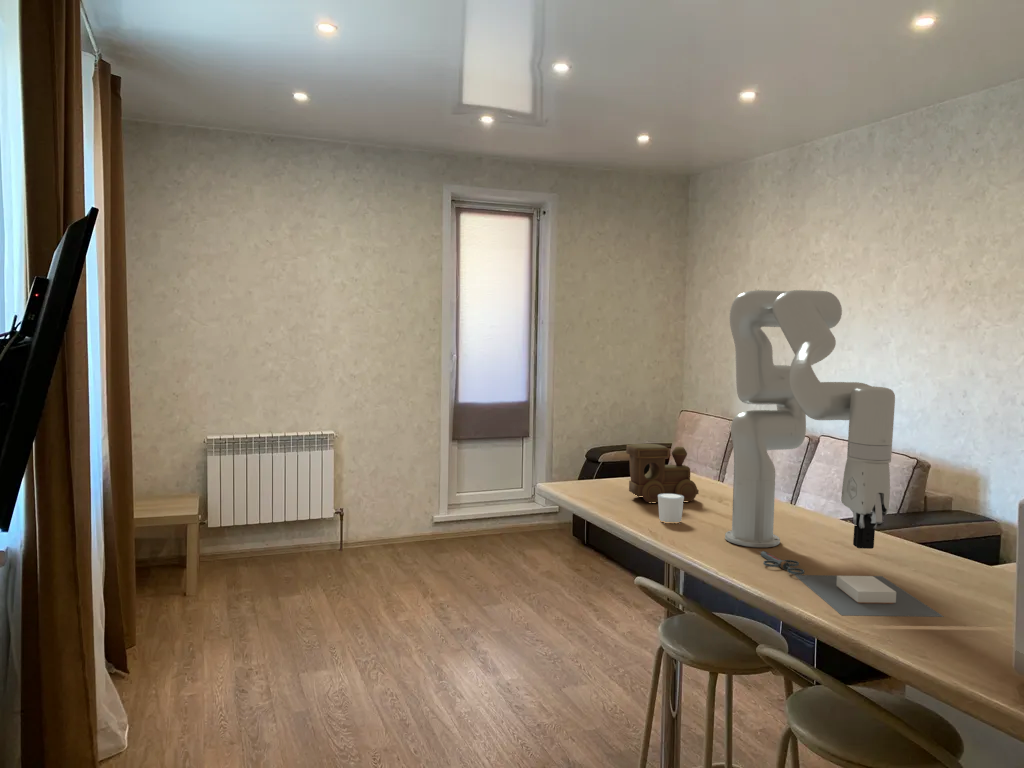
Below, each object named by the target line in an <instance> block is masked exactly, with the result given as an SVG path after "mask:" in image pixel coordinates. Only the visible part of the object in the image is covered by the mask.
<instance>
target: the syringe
mask: <svg viewBox="0 0 1024 768" xmlns="http://www.w3.org/2000/svg"><path fill="white" fill-rule="evenodd" d="M757 552H759V553H760V557H762V558H764V559H766V560H763V563H762V564H763V565H764V566H766V567H771V568H777V567H780V568H781V569H783V570H786V572H787V573H788V574H792V575H805V570H804V569H803V568H799V567H798V566H800V562H799V561H797V560H793V559H784V560H782V559H780V558H778V557H776V556H775V555H772V554H771V553H769V552H767V551H764V550H762V551H759V550H757Z"/></svg>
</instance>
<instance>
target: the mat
mask: <svg viewBox="0 0 1024 768" xmlns="http://www.w3.org/2000/svg"><path fill="white" fill-rule="evenodd" d="M794 576H795V577H796V578H797V579H798V580H799V581H801V583H803V584H804V585H805V586H807V588H809V589H810V590H811V591H812V592H813V593H815V594H816V595H817V596H818V597H819V598H820V599H822V600H823V601H824V603H825V602H826V603H827V605H829V606H830V607H831V608H832V609H834V611H835V612H837V613H838V614H839V615H840V616H841V617H842V616H845V617H846V616H848V617H849V616H850V617H851V616H855V617H859V616H860V617H862V616H863V617H866V616H867V617H917V618H918V617H920V618H921V617H929V618H931V617H933V618H944V615H942V614H941V613H939V612H938V611H936V610H935V609H933V608H931V607H930V606H928V605H927V604H925V603H924V602H922V601H920V600H919V599H918V598H916V597H914V596H913V595H911V594H910V593H908V592H907V591H905V590H904V589H903V588H901V587H900V586H898V585H896V584H895V583H893V582H892V581H891V580H889V579H887V578H885V577H884V576H883V575H872V576H873V577H875V578H876V579H878V580H879V581H881V582H882V583H884V584H885V585H887V586H888V587H890V588H891V589H893V590H894V591H896V603H893V604H880V603H858V602H856V601H855V600H854V599H852V598H851V597H850V596H849V595H847V594H846V593H845V592H843V591H842V590H841V589H840V588H839V587H837V586H836V584H837V576H838V575H832V574H831V575H830V574H829V575H825V574H824V575H823V574H822V575H820V574H817V575H815V574H802V575H796V574H794Z"/></svg>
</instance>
